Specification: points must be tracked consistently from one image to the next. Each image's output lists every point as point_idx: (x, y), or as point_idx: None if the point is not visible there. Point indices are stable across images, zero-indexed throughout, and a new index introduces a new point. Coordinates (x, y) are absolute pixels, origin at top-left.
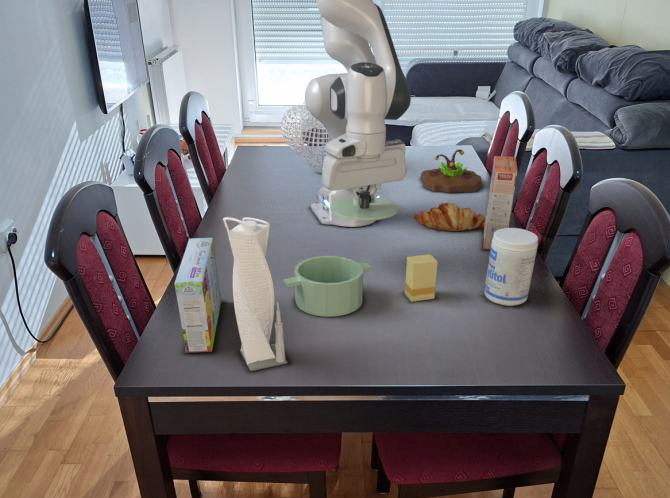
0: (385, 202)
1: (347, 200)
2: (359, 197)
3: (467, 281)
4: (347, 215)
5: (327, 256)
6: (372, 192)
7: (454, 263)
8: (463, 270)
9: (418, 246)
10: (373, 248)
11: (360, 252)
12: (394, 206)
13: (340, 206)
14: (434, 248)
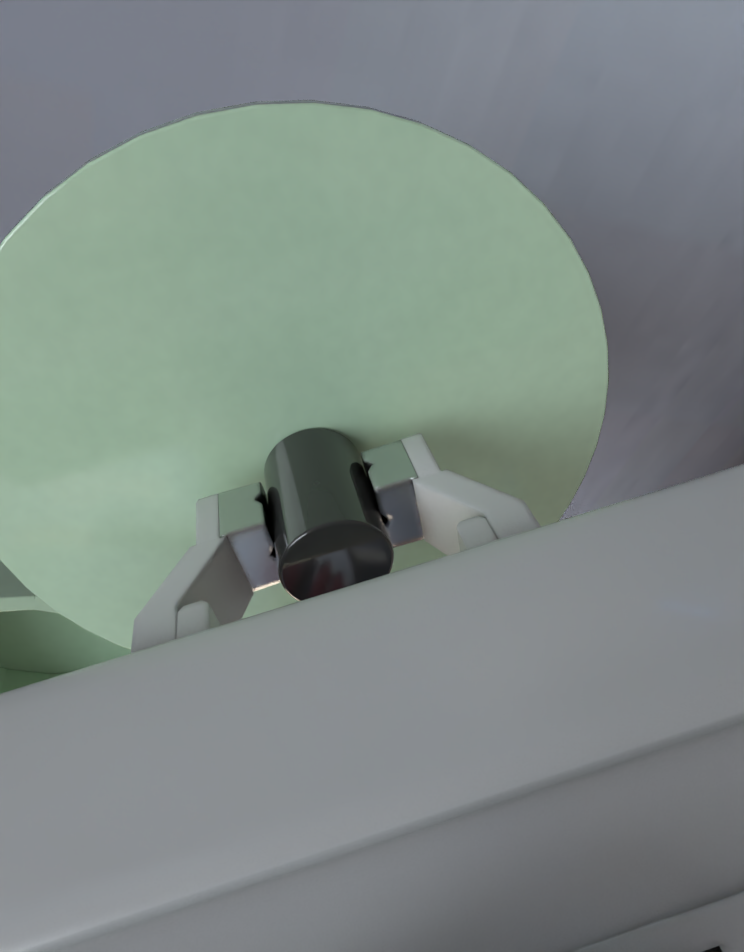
0: (542, 378)
1: (158, 240)
2: (263, 571)
3: (619, 487)
4: (125, 627)
5: (11, 606)
6: (433, 510)
7: (685, 334)
8: (669, 403)
9: (673, 60)
10: (391, 10)
11: (282, 68)
12: (561, 477)
13: (60, 431)
14: (731, 122)
